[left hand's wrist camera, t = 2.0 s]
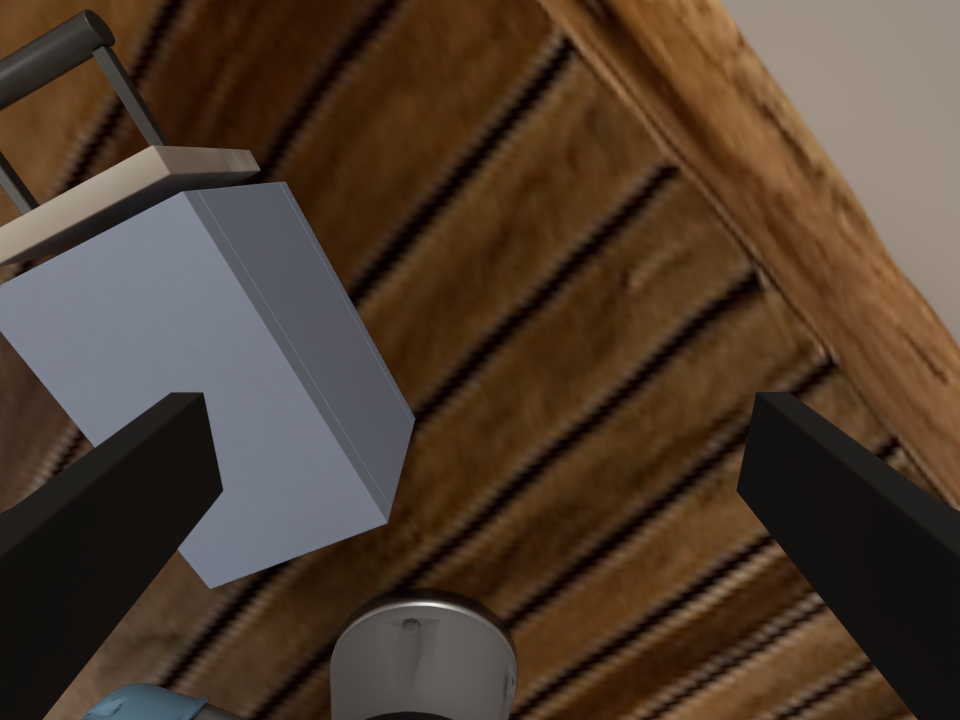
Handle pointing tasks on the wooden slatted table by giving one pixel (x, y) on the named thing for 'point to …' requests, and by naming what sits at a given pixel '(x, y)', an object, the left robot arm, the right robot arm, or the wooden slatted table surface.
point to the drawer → (119, 186)
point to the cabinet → (226, 366)
